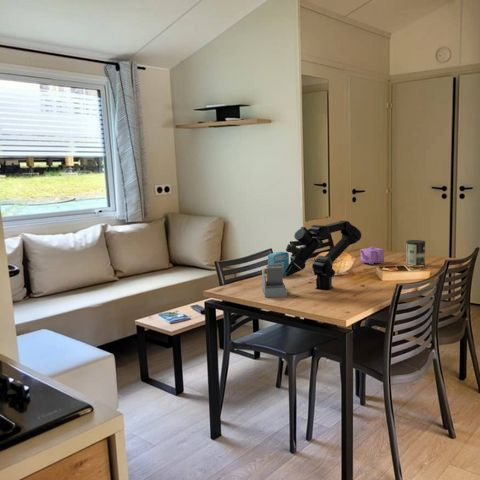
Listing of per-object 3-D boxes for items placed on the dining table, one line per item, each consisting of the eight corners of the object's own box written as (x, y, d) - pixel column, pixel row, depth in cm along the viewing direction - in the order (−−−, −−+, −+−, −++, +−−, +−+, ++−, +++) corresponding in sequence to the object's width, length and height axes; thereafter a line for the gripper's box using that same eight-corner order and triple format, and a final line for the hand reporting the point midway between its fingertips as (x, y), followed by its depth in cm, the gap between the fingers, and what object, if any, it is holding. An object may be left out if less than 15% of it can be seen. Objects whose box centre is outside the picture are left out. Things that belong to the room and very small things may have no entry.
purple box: (366, 267, 293) (366, 249, 292) (350, 263, 305) (350, 246, 304) (390, 263, 301) (390, 246, 300) (374, 260, 314) (374, 243, 312)
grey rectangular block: (282, 289, 244) (281, 264, 242) (282, 291, 241) (282, 266, 239) (267, 290, 244) (266, 265, 242) (267, 292, 241) (267, 266, 239)
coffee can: (424, 264, 295) (425, 239, 293) (425, 267, 286) (425, 242, 284) (405, 263, 298) (406, 239, 296) (405, 267, 289) (406, 242, 287)
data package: (274, 277, 276) (273, 255, 274) (268, 276, 279) (267, 254, 278) (289, 273, 284) (288, 252, 282) (283, 272, 287) (282, 251, 286)
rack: (282, 288, 250) (282, 264, 248) (286, 296, 235) (286, 271, 233) (262, 289, 250) (261, 265, 248) (264, 297, 234) (264, 271, 233)
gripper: (294, 235, 249) (273, 259, 251) (296, 240, 231) (273, 266, 233) (311, 250, 249) (290, 274, 251) (315, 256, 231) (292, 282, 233)
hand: (286, 274), depth 242 cm, fingers open, 9 cm apart
